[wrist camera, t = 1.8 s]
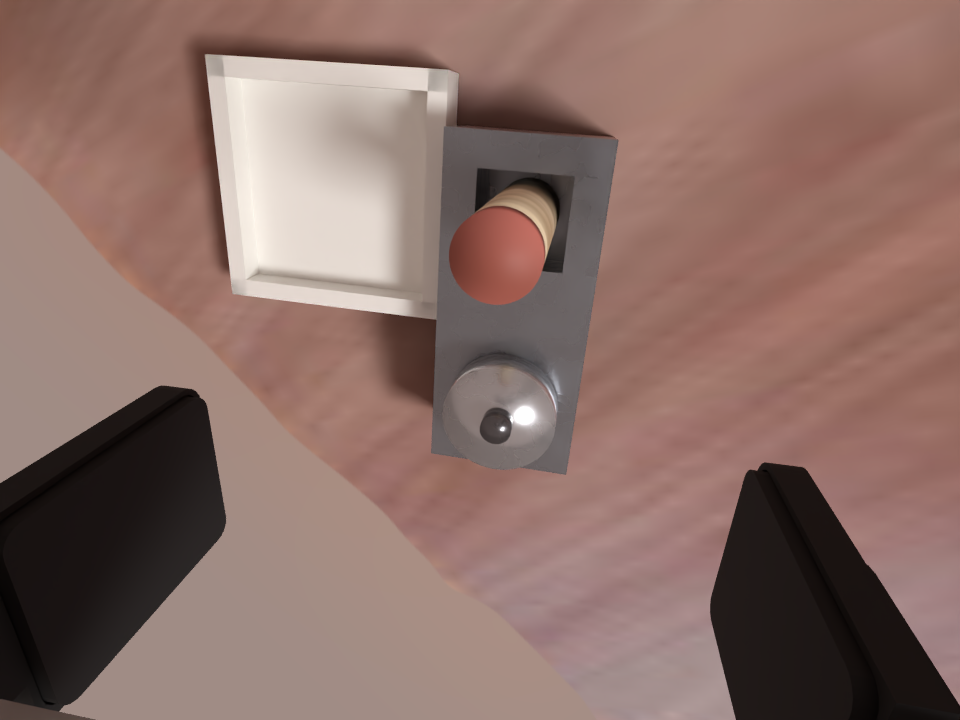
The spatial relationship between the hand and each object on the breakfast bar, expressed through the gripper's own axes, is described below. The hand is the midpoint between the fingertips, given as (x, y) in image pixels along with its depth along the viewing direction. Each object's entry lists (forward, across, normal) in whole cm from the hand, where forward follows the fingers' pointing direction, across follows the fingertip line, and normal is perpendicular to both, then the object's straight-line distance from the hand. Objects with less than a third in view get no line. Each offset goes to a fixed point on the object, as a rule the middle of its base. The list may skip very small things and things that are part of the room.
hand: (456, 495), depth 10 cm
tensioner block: (+25, +1, +4) cm, 25 cm away
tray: (+25, +12, -2) cm, 28 cm away
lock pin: (+24, +1, -2) cm, 24 cm away
